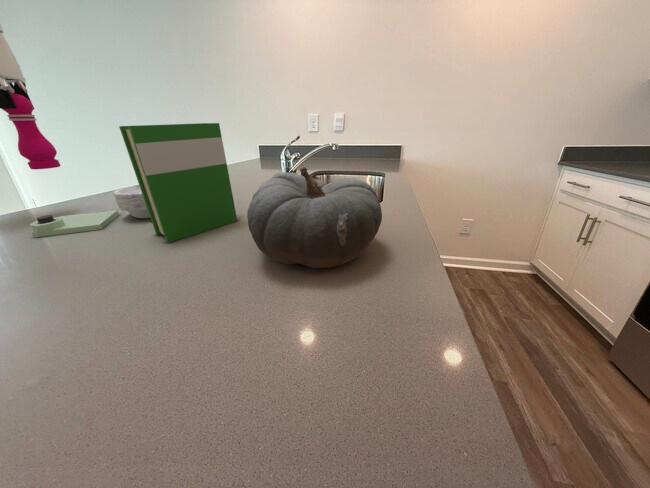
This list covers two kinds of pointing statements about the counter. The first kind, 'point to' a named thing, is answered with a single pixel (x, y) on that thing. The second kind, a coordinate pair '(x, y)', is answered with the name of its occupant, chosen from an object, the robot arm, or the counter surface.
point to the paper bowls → (132, 201)
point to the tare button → (45, 219)
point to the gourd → (313, 219)
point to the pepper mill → (31, 135)
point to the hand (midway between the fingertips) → (17, 108)
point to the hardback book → (181, 176)
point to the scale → (73, 223)
